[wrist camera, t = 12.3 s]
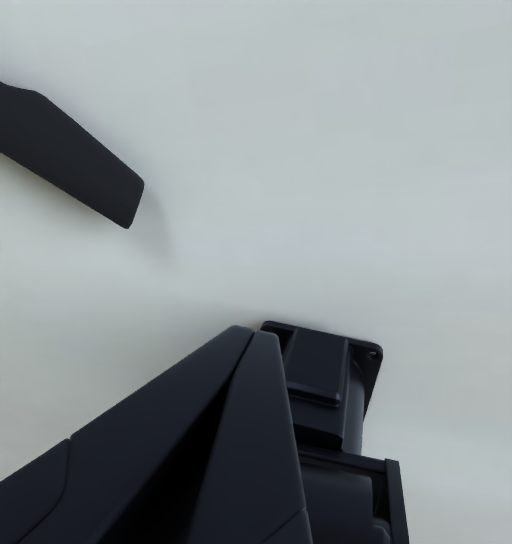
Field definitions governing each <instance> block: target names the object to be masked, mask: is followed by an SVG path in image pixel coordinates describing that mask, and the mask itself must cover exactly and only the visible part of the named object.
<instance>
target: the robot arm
mask: <svg viewBox="0 0 512 544" xmlns="http://www.w3.org/2000/svg"><path fill="white" fill-rule="evenodd" d="M267 329H270V330H272V331H273V332H269V331H268V330H267ZM370 352H375V353H376V354H375V355H372V354H370ZM382 359H383V350H382V348H381V347H380V346H379V345H377V344H375V343H370V342H365V341H361V340H356V339H352V338H347V337H342V336H338V335H333V334H329V333H324V332H320V331H315V330H310V329H306V328H301V327H297V326H292V325H287V324H283V323H278V322H274V321H266V322H264V323H263V324H262V326H261V329H260V331H259V330H258V331H256V332H255V331H254V330H253V329H251V328H246V327H242V326H238V325H234V326H231V327H229V328H228V329H226V330H225V331H223V332H222V333H221V334H219V335H218V336H216V337H215V338H213V339H212V340H210V341H209V342H207V343H206V344H204V345H203V346H201V347H200V348H198V349H197V350H196V351H194V352H193V353H191V354H190V355H188V356H187V357H185V358H184V359H182V360H181V361H179V362H178V363H176V364H175V365H173V366H172V367H171V368H169V369H168V370H166V371H165V372H163V373H162V374H160V375H159V376H157V377H156V378H154V379H153V380H151V381H150V382H148V383H147V384H146V385H144V386H143V387H141V388H140V389H138V390H137V391H135V392H134V393H132V394H131V395H129V396H128V397H126V398H125V399H123V400H122V401H121V402H119V403H118V404H116V405H115V406H113V407H112V408H110V409H109V410H107V411H106V412H104V413H103V414H101V415H100V416H98V417H97V418H96V419H94V420H93V421H91V422H90V423H88V424H87V425H85V426H84V427H82V428H81V429H79V430H78V431H76V432H75V433H73V434H72V435H71V437H70V439H64V440H63V441H61V442H60V443H58V444H57V445H55V446H54V447H53V448H51V449H50V450H48V451H47V452H45V453H44V454H42V455H41V456H39V457H38V458H36V459H35V460H33V461H31V462H30V463H28V464H27V465H25V466H24V467H22V468H21V469H19V470H18V471H16V472H14V473H13V474H11V475H10V476H8V477H7V478H5V479H4V480H2V481H0V544H409V536H408V528H407V521H406V513H405V505H404V498H403V490H402V483H401V475H400V467H399V461H395V460H390V459H386V458H385V461H384V460H379V459H375V458H370V457H365V456H361V448H362V430H363V421H364V418H365V415H366V411H367V408H368V405H369V401H370V398H371V395H372V392H373V388H374V385H375V382H376V378H377V375H378V372H379V369H380V365H381V362H382Z"/></svg>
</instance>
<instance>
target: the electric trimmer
mask: <svg viewBox="0 0 512 544" xmlns="http://www.w3.org/2000/svg"><path fill="white" fill-rule="evenodd" d="M0 152H1V153H3V154H4V155H6V156H8V157H9V158H11V159H13V160H14V161H16V162H17V163H19V164H21V165H22V166H24V167H26V168H27V169H29V170H30V171H32V172H34V173H35V174H37V175H38V176H40V177H42V178H43V179H45V180H47V181H48V182H50V183H51V184H53V185H55V186H56V187H58V188H60V189H61V190H63V191H64V192H66V193H68V194H69V195H71V196H73V197H74V198H76V199H77V200H79V201H81V202H82V203H84V204H85V205H87V206H89V207H90V208H92V209H94V210H95V211H97V212H98V213H100V214H102V215H103V216H105V217H107V218H108V219H110V220H111V221H113V222H115V223H116V224H118V225H120V226H121V227H123V228H125V229H129V227H130V226H131V224H132V222H133V219H134V216H135V213H136V211H137V208H138V205H139V202H140V199H141V196H142V193H143V189H144V181H143V180H142V179H141V178H140V177H139V176H138V175H137V174H136V173H135V172H134V171H133V170H131V169H130V168H129V167H128V166H127V165H126V164H124V163H123V162H122V161H121V160H120V159H119V158H117V157H116V156H115V155H114V154H113V153H112V152H110V151H109V150H108V149H107V148H106V147H105V146H103V145H102V144H101V143H100V142H99V141H98V140H96V139H95V138H94V137H93V136H92V135H91V134H89V133H88V132H87V131H86V130H85V129H84V128H82V127H81V126H80V125H79V124H78V123H77V122H75V121H74V120H73V119H72V118H71V117H69V116H68V115H67V114H66V113H64V112H63V111H62V110H61V109H60V108H58V107H57V106H56V105H55V104H53V103H52V102H51V101H50V100H49V99H47V98H46V97H45V96H43V95H42V94H40V93H38V92H36V91H32V90H27V89H21V88H16V87H13V86H9V85H6V84H4V83H2V82H1V81H0Z"/></svg>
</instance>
